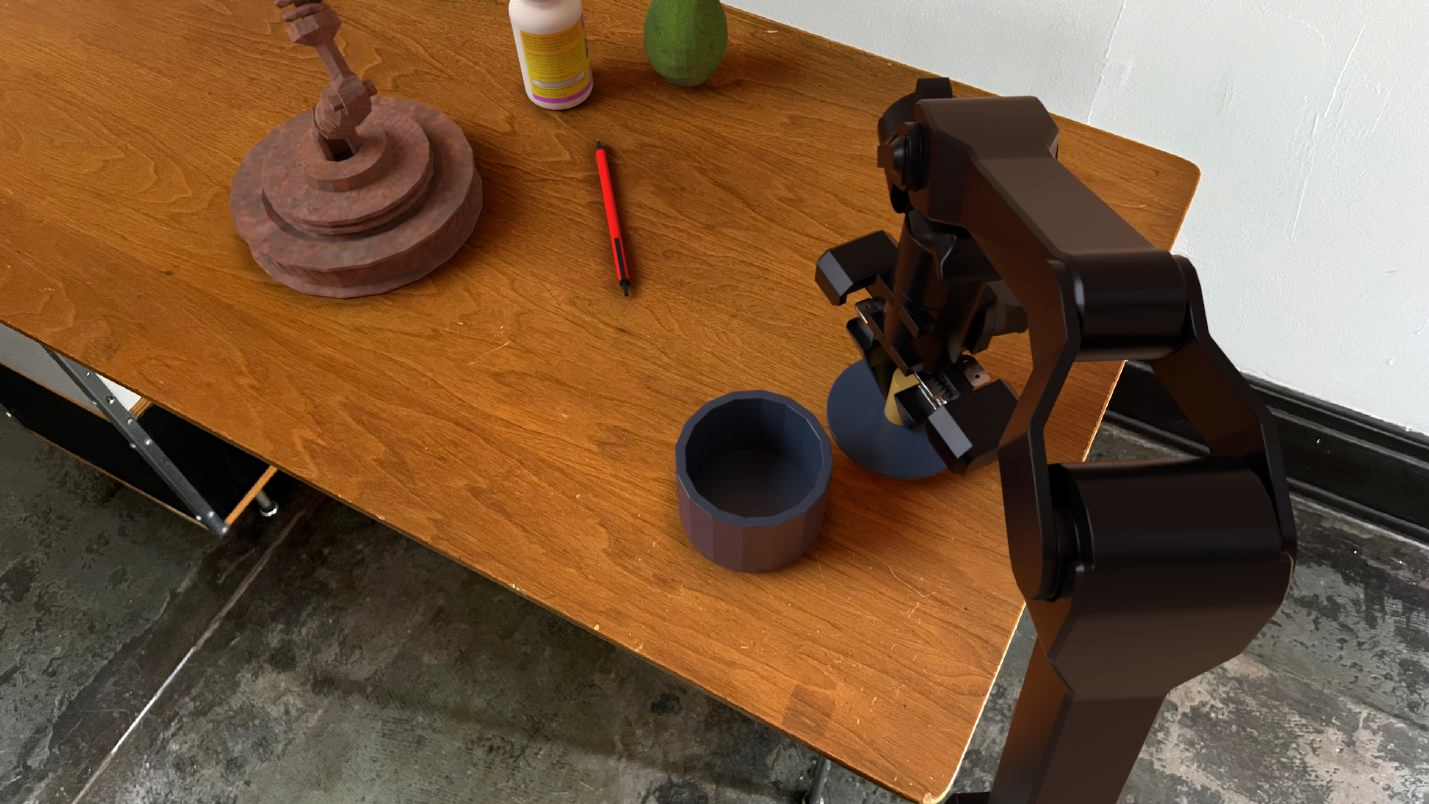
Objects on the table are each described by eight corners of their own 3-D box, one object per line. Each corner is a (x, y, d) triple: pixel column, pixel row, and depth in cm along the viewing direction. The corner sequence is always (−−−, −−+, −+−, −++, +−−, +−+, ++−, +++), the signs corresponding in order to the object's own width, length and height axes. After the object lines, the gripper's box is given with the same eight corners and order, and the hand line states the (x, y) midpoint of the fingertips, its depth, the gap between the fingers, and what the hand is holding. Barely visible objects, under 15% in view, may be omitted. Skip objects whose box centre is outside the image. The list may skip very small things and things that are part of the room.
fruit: (701, 114, 93) (699, 4, 83) (632, 88, 95) (621, -23, 85) (741, 68, 97) (743, -43, 87) (673, 43, 99) (667, -68, 89)
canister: (849, 535, 69) (861, 486, 63) (718, 596, 67) (718, 552, 60) (780, 424, 74) (785, 368, 68) (656, 477, 72) (650, 425, 65)
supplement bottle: (605, 98, 94) (589, -21, 84) (543, 122, 93) (519, 3, 82) (575, 60, 98) (557, -60, 87) (515, 82, 96) (488, -37, 85)
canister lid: (1001, 448, 71) (1020, 407, 67) (873, 507, 69) (884, 469, 64) (920, 341, 77) (933, 296, 72) (799, 392, 74) (804, 349, 70)
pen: (621, 299, 81) (620, 290, 80) (593, 144, 91) (592, 135, 90) (632, 297, 81) (631, 289, 80) (603, 142, 91) (602, 133, 90)
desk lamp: (387, 61, 98) (210, -443, 64) (548, 252, 84) (429, -266, 50) (184, 147, 91) (-131, -364, 58) (322, 370, 77) (10, -135, 44)
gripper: (1146, 337, 56) (1066, 467, 69) (963, 138, 65) (923, 287, 78) (986, 409, 53) (934, 530, 67) (820, 192, 63) (803, 336, 76)
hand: (900, 411), depth 72 cm, fingers closed on canister lid, 2 cm apart
